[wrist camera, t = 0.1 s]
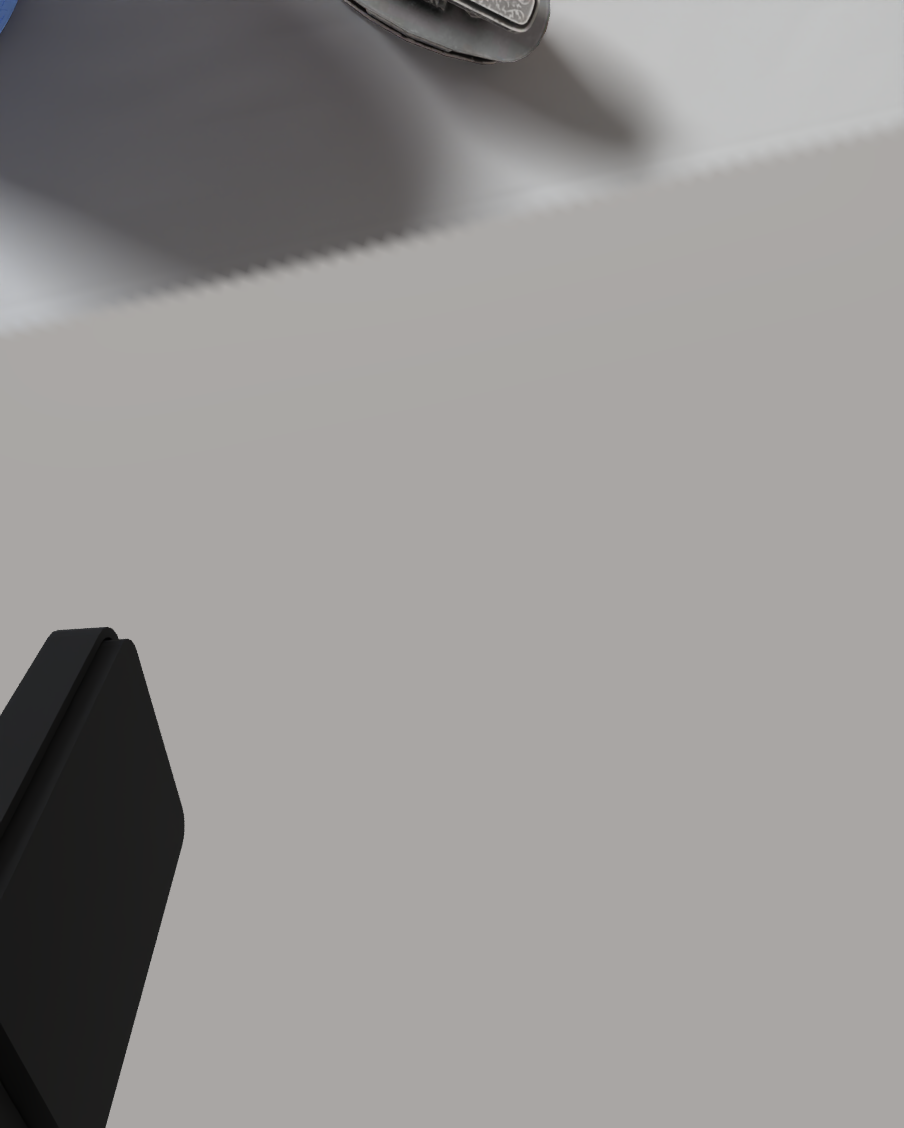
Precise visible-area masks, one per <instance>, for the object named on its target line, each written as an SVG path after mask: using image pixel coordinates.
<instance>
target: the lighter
mask: <svg viewBox="0 0 904 1128" xmlns="http://www.w3.org/2000/svg"><path fill="white" fill-rule="evenodd" d="M343 1H345V2H346V3H347V4H349V5H350V6H351V7H353V8H354V9H355V10H357V11H358V12H359V13H361V14H362V15H363V16H365V17H366V18H367V19H369V20H371V21H372V22H374V23H376V24H378V25H379V26H381V27H383V28H384V29H386V30H388V31H390V32H391V33H393V34H395V35H397V36H398V37H400V38H402V39H404V40H405V41H408V42H410V43H413V44H416V45H418V46H421V47H423V48H426V49H429V50H431V51H434V52H436V53H439V54H442V55H444V56H448V57H453V58H457V59H461V60H465V61H470V62H474V63H478V64H495V63H497V62H516V61H518V60H520V59H522V58H524V57H526V56H528V55H529V54H530V53H531V52H532V51H533V50H534V49H535V48H536V47H537V46H538V45H539V43H540V41H541V39H542V37H543V35H544V33H545V32H546V29H547V25H548V21H549V17H550V0H343Z"/></svg>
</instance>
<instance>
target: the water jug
mask: <svg viewBox="0 0 904 1128" xmlns="http://www.w3.org/2000/svg"><path fill="white" fill-rule="evenodd" d="M17 1H18V0H0V33H1V32H2V30H3V29H4V27H5V25H6V24H7V22H8V20H9V18H10V16H11V14H12V12H13V10H14V8H15V6H16V4H17Z"/></svg>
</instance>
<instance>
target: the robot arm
mask: <svg viewBox="0 0 904 1128" xmlns="http://www.w3.org/2000/svg"><path fill="white" fill-rule="evenodd" d="M183 839H184V814H183V809H182V805H181V802H180V798H179V795H178V791H177V788H176V785H175V781H174V778H173V774H172V771H171V767H170V764H169V760H168V757H167V753H166V750H165V747H164V743H163V740H162V736H161V733H160V730H159V726H158V722H157V719H156V716H155V712H154V709H153V705H152V702H151V698H150V695H149V692H148V688H147V685H146V681H145V678H144V674H143V671H142V667H141V664H140V660H139V657H138V653H137V650H136V648H135V645H134V644H133V642H132V641H131V640H129V639H118V636H117V634H116V633H115V632H114V630H113V629H111V628H109V627H100V628H85V629H70V630H57V631H54V632H52V634H51V635H50V636H49V637H48V638H47V640H46V642H45V643H44V645H43V647H42V648H41V650H40V651H39V653H38V655H37V657H36V658H35V660H34V661H33V663H32V665H31V666H30V668H29V669H28V671H27V673H26V674H25V676H24V678H23V680H22V681H21V683H20V684H19V686H18V688H17V689H16V691H15V693H14V694H13V696H12V697H11V699H10V701H9V702H8V704H7V706H6V707H5V709H4V710H3V712H2V714H1V715H0V1128H105V1127H106V1123H107V1119H108V1116H109V1112H110V1108H111V1105H112V1101H113V1098H114V1094H115V1090H116V1087H117V1083H118V1079H119V1076H120V1071H121V1068H122V1064H123V1061H124V1057H125V1054H126V1050H127V1046H128V1043H129V1039H130V1035H131V1032H132V1027H133V1024H134V1020H135V1017H136V1013H137V1009H138V1006H139V1002H140V998H141V995H142V991H143V987H144V983H145V980H146V976H147V972H148V969H149V965H150V961H151V958H152V954H153V951H154V947H155V943H156V940H157V936H158V932H159V928H160V925H161V921H162V917H163V914H164V910H165V906H166V903H167V899H168V895H169V892H170V888H171V884H172V881H173V877H174V873H175V870H176V866H177V862H178V858H179V855H180V851H181V848H182V843H183Z"/></svg>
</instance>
